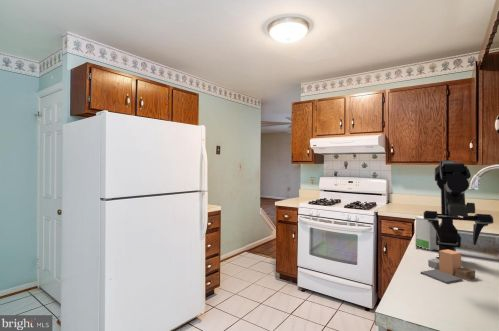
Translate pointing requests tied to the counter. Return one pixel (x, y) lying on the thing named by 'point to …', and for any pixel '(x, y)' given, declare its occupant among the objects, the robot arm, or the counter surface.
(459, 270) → the walnut block
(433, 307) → the counter surface
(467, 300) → the counter surface
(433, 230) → the skincare box
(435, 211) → the robot arm
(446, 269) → the terracotta block
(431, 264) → the grey plastic block
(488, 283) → the counter surface
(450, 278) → the charcoal mat
